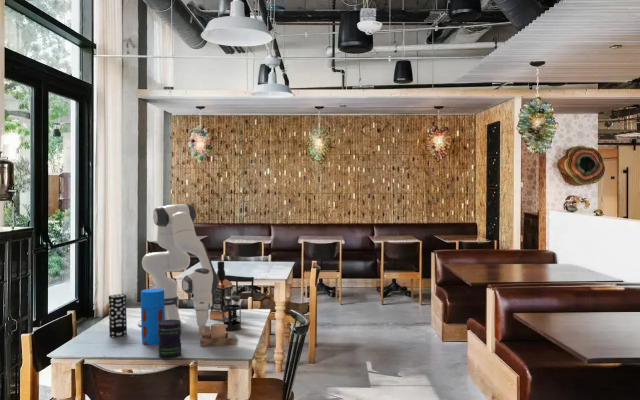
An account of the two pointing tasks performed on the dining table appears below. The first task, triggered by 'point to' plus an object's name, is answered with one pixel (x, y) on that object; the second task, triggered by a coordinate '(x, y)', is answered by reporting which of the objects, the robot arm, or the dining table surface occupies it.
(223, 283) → the whiskey bottle
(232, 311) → the french press
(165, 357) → the storage jar
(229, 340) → the brown block arch
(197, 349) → the dining table surface
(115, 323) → the white-spotted black cylinder
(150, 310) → the thermos
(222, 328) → the tan rounded piece
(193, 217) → the robot arm
